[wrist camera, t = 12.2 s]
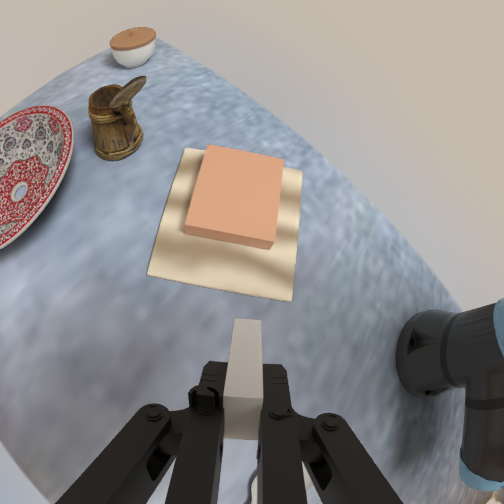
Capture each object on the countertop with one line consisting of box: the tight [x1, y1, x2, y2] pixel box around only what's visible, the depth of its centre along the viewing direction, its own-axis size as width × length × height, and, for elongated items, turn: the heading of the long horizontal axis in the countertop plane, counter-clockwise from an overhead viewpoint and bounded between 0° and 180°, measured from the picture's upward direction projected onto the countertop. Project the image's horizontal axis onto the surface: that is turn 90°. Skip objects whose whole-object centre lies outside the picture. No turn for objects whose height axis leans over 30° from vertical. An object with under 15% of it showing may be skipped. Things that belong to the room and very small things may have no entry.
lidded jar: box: [110, 27, 156, 68], centre depth 49 cm, size 11×11×9 cm
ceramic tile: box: [185, 144, 284, 250], centre depth 41 cm, size 3×12×14 cm
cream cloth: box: [147, 148, 303, 302], centre depth 42 cm, size 22×20×1 cm
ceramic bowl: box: [0, 105, 74, 249], centre depth 34 cm, size 29×29×8 cm
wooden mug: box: [88, 76, 146, 161], centre depth 36 cm, size 9×14×18 cm, turn 53°
